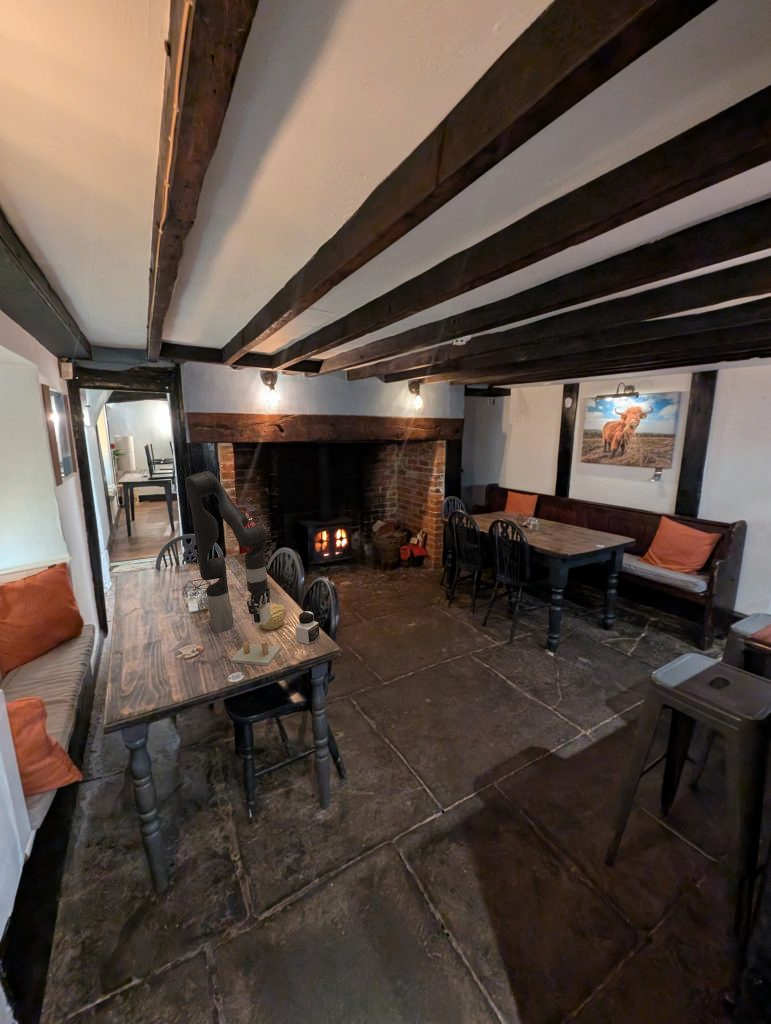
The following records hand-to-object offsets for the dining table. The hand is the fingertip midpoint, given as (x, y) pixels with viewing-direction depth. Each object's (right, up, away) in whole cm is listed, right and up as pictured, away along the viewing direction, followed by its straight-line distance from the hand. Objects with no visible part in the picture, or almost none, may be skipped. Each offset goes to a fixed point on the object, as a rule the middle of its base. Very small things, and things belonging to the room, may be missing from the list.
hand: (261, 618), depth 162 cm
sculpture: (-3, -11, +28) cm, 31 cm away
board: (-3, -16, +4) cm, 17 cm away
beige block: (0, -1, 0) cm, 1 cm away
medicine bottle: (+15, -13, +16) cm, 26 cm away
